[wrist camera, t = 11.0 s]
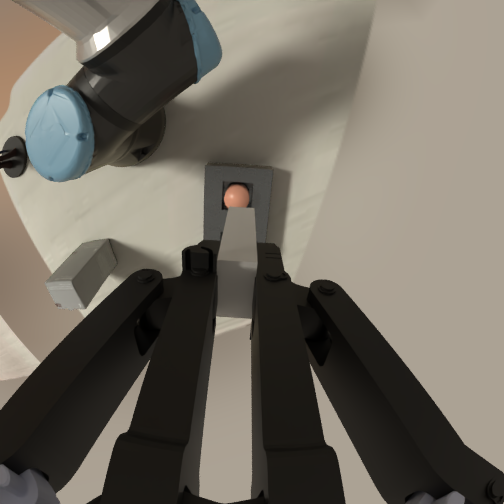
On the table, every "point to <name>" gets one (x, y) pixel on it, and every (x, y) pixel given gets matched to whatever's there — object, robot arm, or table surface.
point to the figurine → (13, 156)
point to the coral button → (237, 195)
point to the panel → (215, 189)
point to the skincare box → (81, 275)
